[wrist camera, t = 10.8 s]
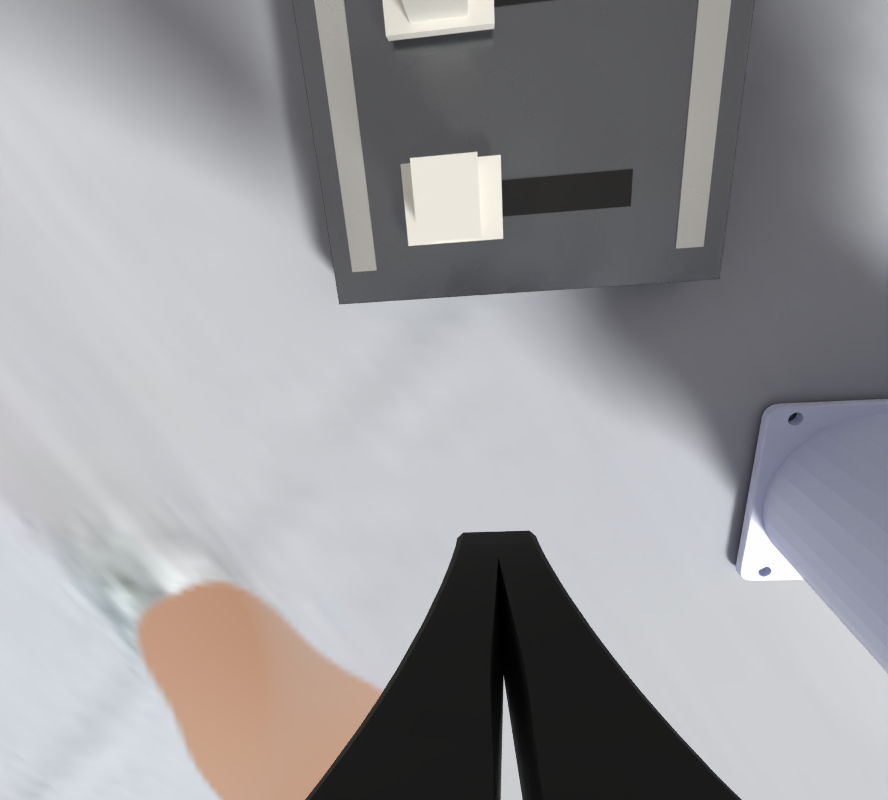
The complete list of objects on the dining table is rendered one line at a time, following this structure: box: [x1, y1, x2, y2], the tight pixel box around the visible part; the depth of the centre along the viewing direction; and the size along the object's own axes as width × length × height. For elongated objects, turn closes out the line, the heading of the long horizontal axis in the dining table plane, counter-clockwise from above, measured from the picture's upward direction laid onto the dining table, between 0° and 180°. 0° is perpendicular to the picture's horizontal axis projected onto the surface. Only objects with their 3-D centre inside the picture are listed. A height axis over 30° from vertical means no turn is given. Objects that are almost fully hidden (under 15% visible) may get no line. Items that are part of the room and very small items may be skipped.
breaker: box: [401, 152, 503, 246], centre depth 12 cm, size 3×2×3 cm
